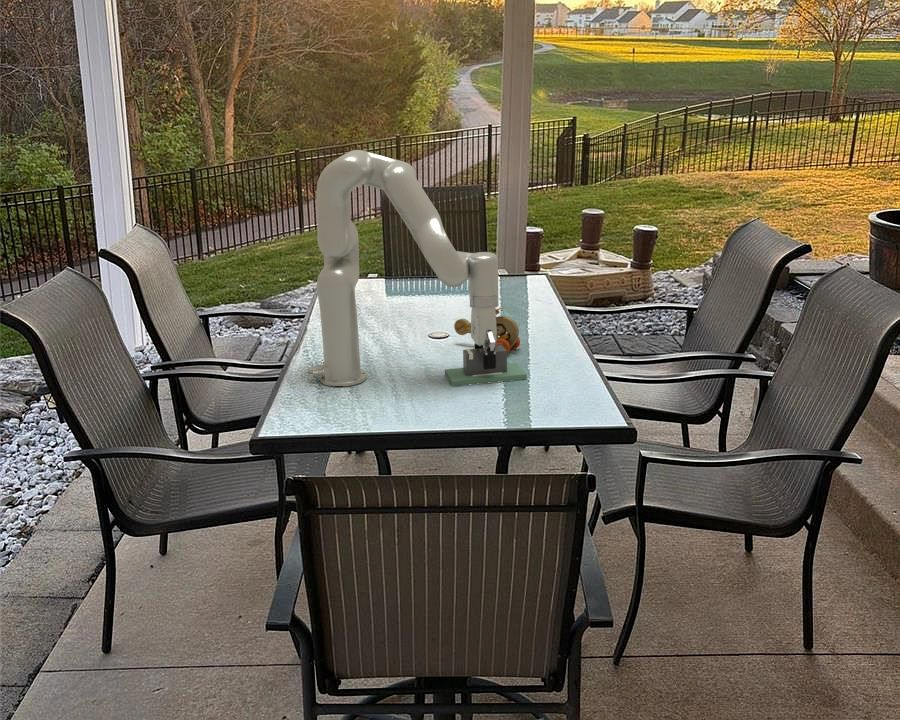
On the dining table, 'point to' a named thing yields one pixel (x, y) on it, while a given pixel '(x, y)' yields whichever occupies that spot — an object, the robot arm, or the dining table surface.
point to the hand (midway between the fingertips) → (485, 362)
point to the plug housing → (475, 361)
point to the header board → (485, 376)
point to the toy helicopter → (502, 326)
